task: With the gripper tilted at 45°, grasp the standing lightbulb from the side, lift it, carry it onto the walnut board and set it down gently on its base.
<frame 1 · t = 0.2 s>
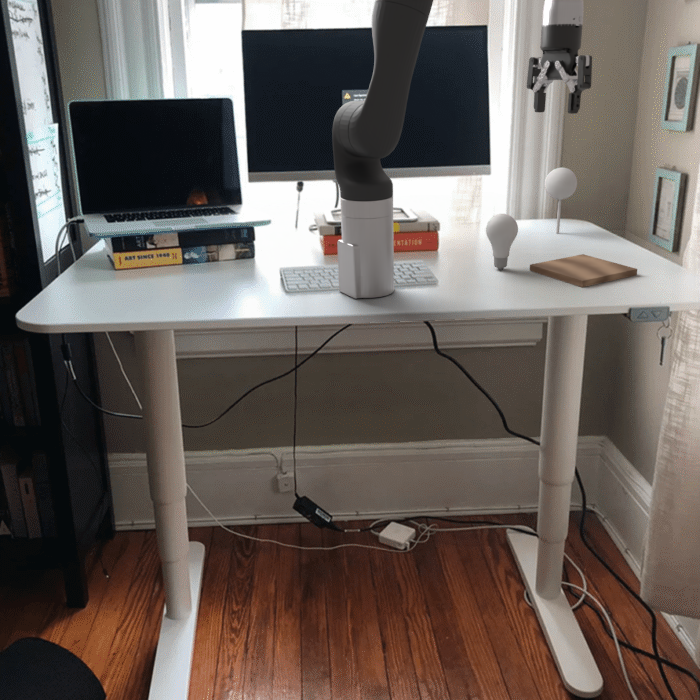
hand: (555, 112, 156), 29 cm above the table, tool pointing down, fingers open, 8 cm apart
walnut board: (582, 272, 153), on the table
lightbulb: (500, 270, 157), on the table
lollipop: (557, 234, 185), on the table
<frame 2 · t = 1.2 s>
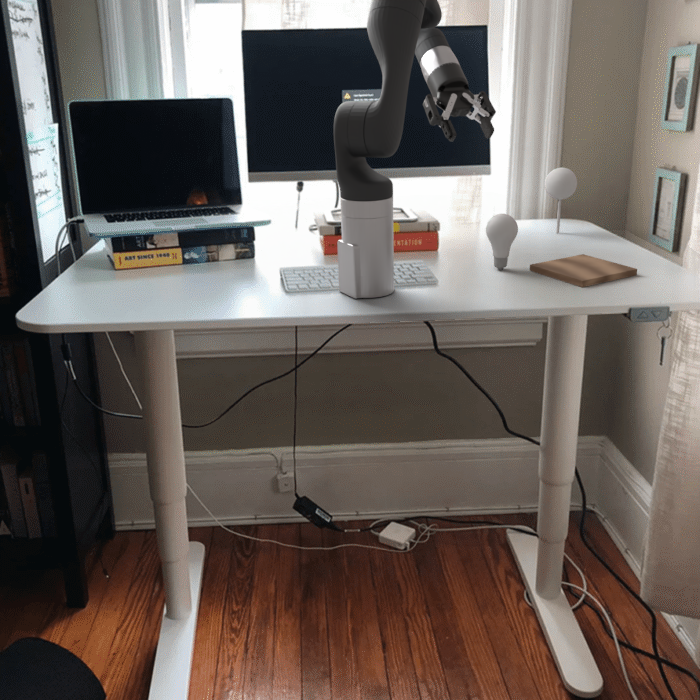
hand: (472, 137, 158), 24 cm above the table, tool tilted 45°, fingers open, 8 cm apart
nothing on the table moved.
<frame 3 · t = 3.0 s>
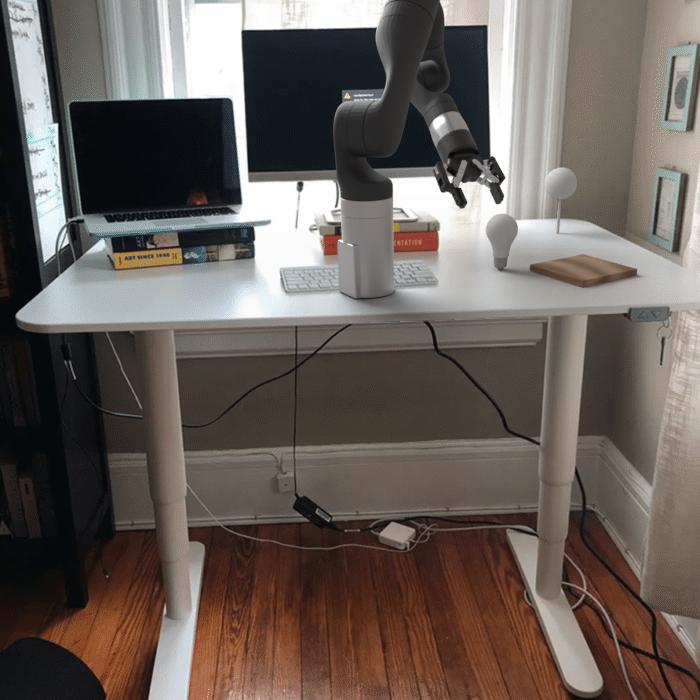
hand: (482, 204, 159), 12 cm above the table, tool tilted 45°, fingers open, 8 cm apart
nothing on the table moved.
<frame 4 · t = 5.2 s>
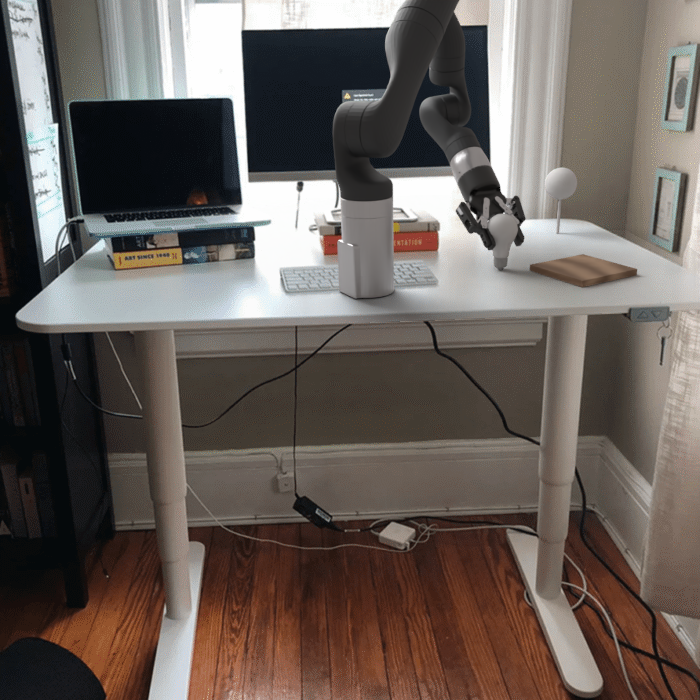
hand: (506, 245, 154), 5 cm above the table, tool tilted 45°, fingers closed on lightbulb, 6 cm apart
lightbulb: (500, 270, 157), on the table, touching gripper
everything else where it was.
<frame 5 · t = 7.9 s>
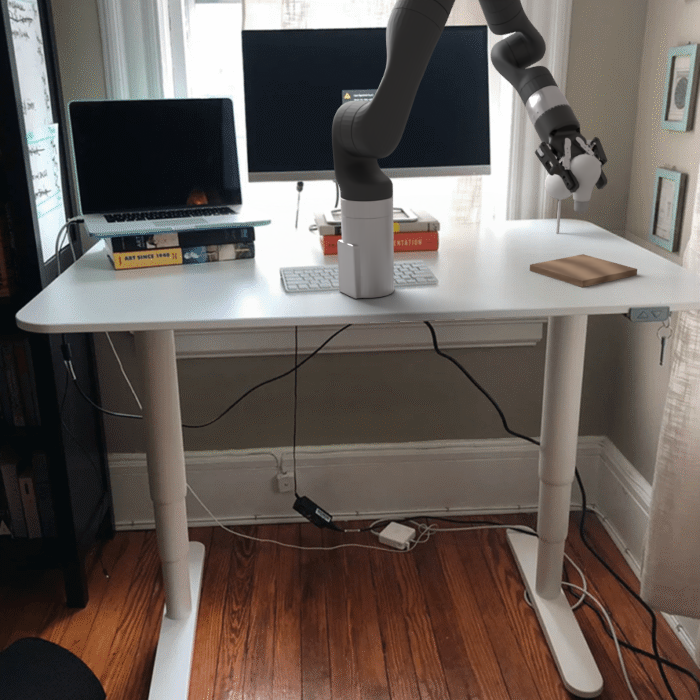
hand: (589, 188, 146), 16 cm above the table, tool tilted 45°, fingers closed on lightbulb, 6 cm apart
lightbulb: (580, 215, 150), point 11 cm above the table, touching gripper
everything else where it was.
when the fingers open (7 cm above the table, at t = 10.6 s): lightbulb stays where it is, resting on walnut board.
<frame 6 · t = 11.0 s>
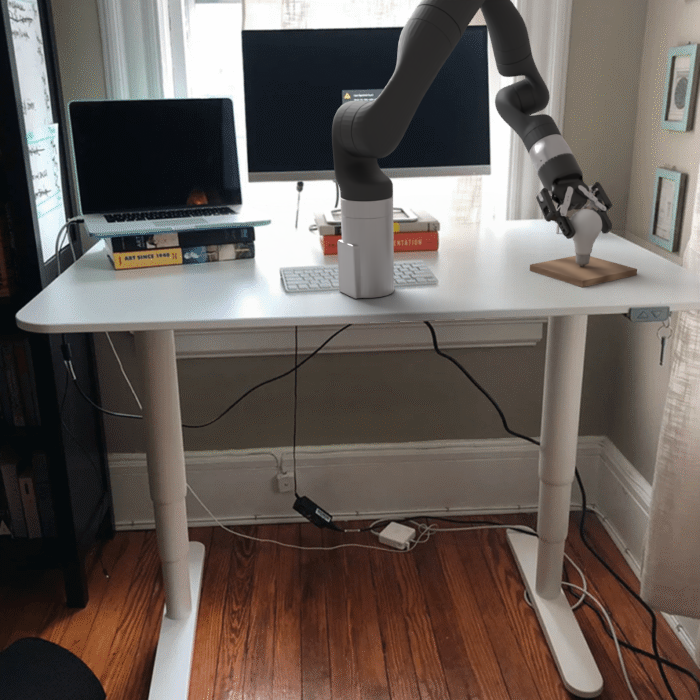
hand: (590, 233, 149), 8 cm above the table, tool tilted 45°, fingers open, 8 cm apart
lightbulb: (582, 267, 153), point 1 cm above the table, touching walnut board
everything else where it was.
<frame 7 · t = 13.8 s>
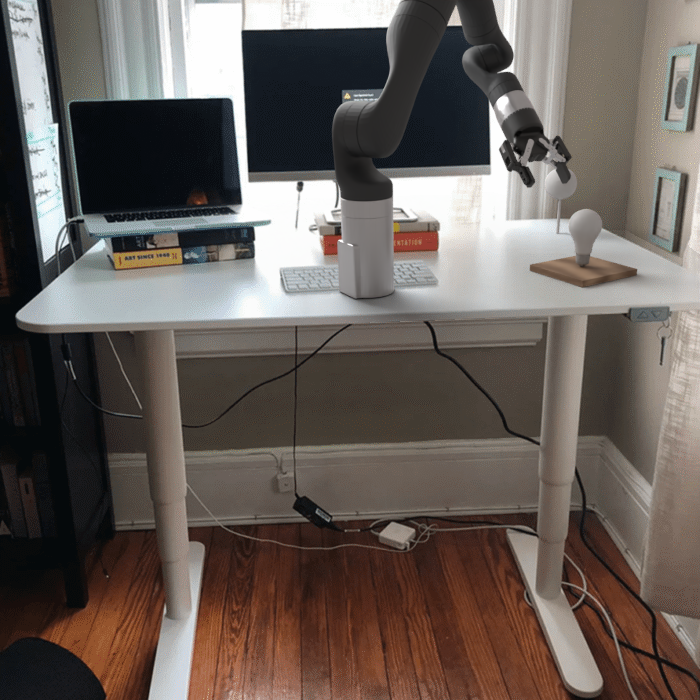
hand: (549, 183, 157), 16 cm above the table, tool tilted 45°, fingers open, 8 cm apart
nothing on the table moved.
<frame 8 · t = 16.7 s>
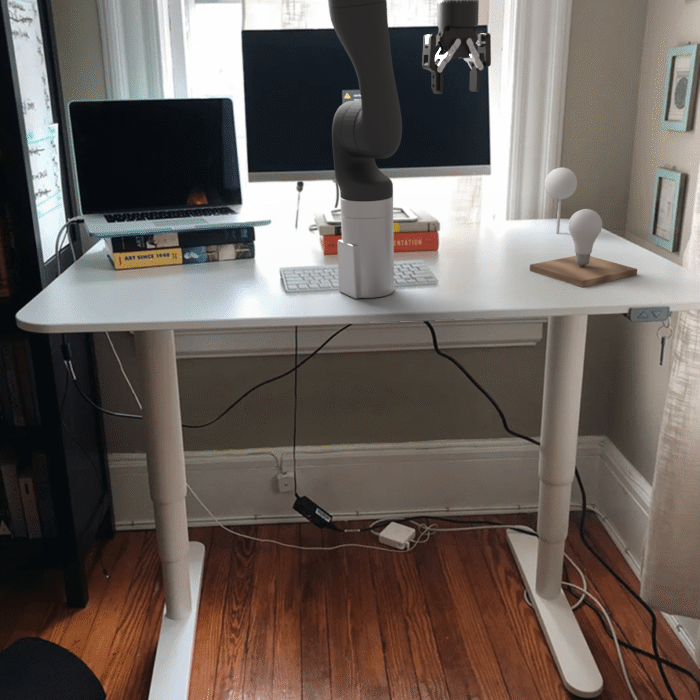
hand: (456, 92, 151), 33 cm above the table, tool pointing down, fingers open, 8 cm apart
nothing on the table moved.
at the end: lightbulb inside the target area on the walnut board (0.3 cm from its centre), point 1.0 cm above the walnut board's base; lightbulb tilted 0°; the gripper is holding nothing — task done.
